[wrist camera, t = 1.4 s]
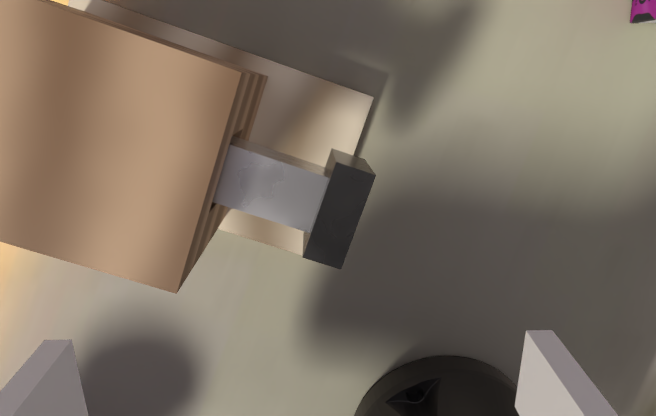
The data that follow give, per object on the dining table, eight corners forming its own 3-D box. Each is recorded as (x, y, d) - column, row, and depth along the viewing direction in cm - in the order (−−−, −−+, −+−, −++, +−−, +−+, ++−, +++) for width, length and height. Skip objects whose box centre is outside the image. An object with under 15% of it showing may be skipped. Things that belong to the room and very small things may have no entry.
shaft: (364, 159, 28) (375, 175, 24) (335, 238, 29) (340, 269, 25) (94, 66, 27) (46, 63, 22) (74, 154, 28) (24, 170, 23)
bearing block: (371, 96, 34) (413, 106, 20) (315, 252, 37) (318, 356, 23) (82, -7, 32) (-95, -76, 18) (44, 167, 35) (-135, 224, 21)
